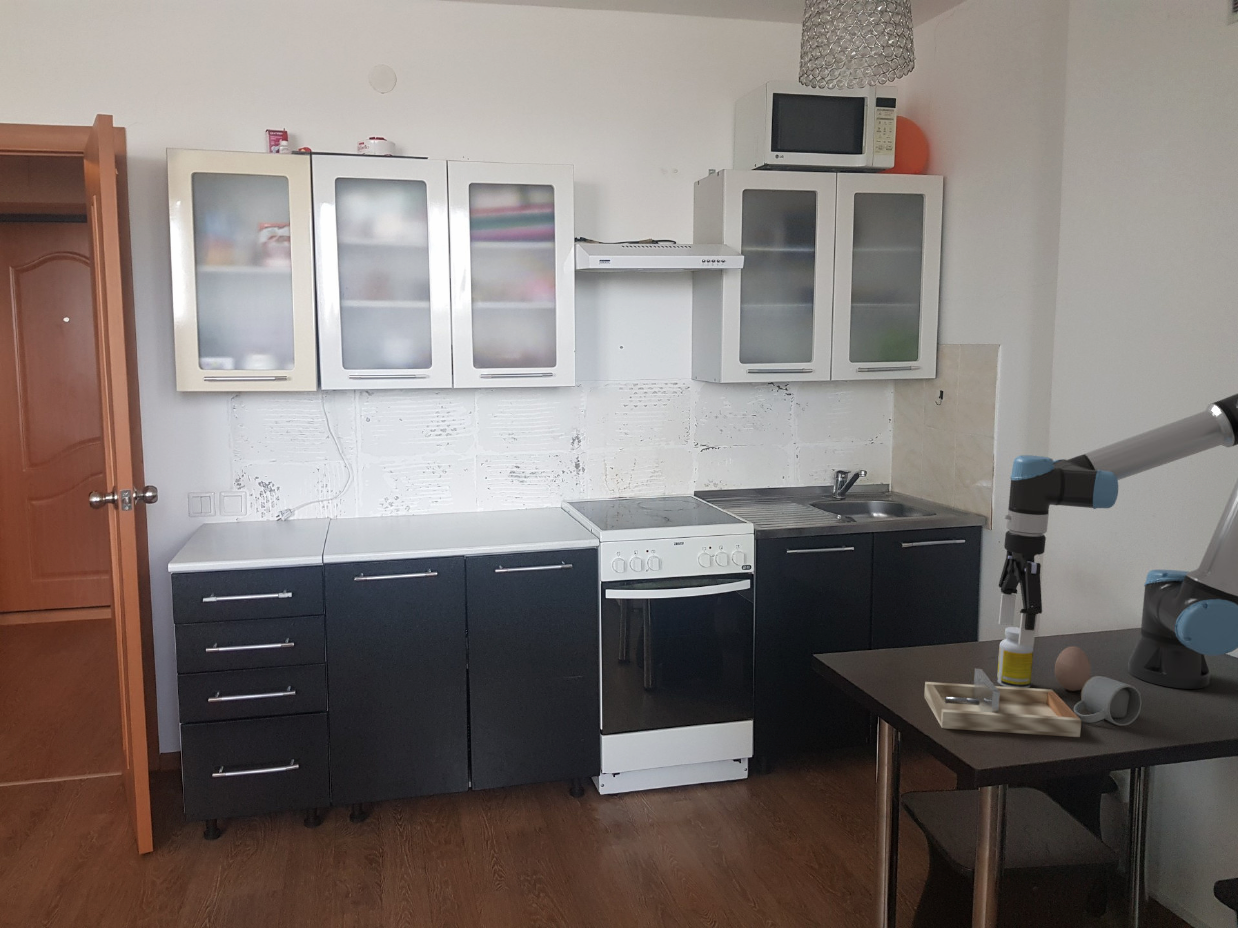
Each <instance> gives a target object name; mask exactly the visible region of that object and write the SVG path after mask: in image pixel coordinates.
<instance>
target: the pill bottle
mask: <svg viewBox="0 0 1238 928" xmlns="http://www.w3.org/2000/svg"><path fill="white" fill-rule="evenodd" d="M1019 632H1020V627H1017V626H1007V627H1005V631H1004V636H1005V638H1004V639H1002V641H1000V643H999V646H998V647H999V648H998V661H997V676H996V681H997V683H998V684H999V685H1000V686H1002V687H1018V688H1031V682H1032V671H1033V659H1034V646H1031V645H1019V644H1018V642H1019Z"/></svg>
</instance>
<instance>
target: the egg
mask: <svg viewBox="0 0 1238 928" xmlns="http://www.w3.org/2000/svg"><path fill="white" fill-rule="evenodd" d="M1091 671H1092V669H1091V663H1090V660H1089V657H1088V655H1087V653H1086V652H1085V651H1084V650H1082V648H1080V647H1078V646H1074V645H1072V646H1068V647H1065V648H1064V649H1063V650H1062V651H1061V652H1060V653H1059V655H1058V656H1057V658H1056V661H1055V663H1054V675H1055V678H1056V680H1057V682H1058V684H1059V685H1060V686H1061V687H1062V688H1064V689H1065V690H1068V691H1070V692H1075V691H1076V692H1077V691H1079V690H1082V688H1083V686H1084V684H1085V682H1086V681H1087V680H1088V679H1090V678H1091V673H1092V672H1091Z"/></svg>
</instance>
